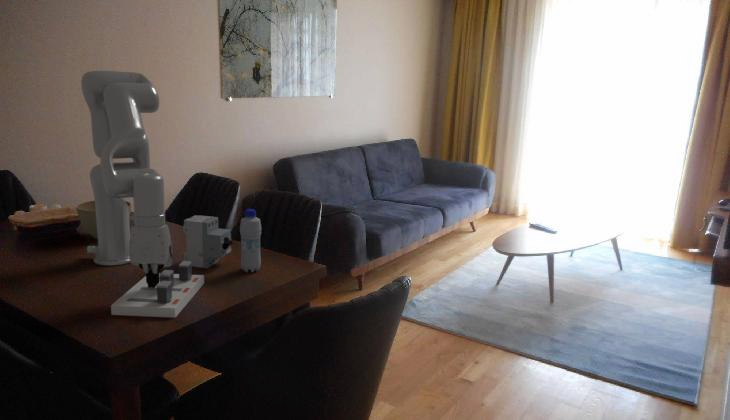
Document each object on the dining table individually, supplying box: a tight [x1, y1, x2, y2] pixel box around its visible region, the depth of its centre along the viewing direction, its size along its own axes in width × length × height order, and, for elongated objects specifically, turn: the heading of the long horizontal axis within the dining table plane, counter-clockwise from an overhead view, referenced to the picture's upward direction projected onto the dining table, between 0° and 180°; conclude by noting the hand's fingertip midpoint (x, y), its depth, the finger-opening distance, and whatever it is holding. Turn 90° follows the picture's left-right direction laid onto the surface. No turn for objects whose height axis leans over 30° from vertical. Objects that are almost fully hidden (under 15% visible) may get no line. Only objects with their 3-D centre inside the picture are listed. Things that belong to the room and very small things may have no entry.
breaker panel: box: [110, 272, 205, 318], centre depth 145 cm, size 16×24×3 cm, turn 0°
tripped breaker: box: [160, 269, 175, 287], centre depth 144 cm, size 2×4×4 cm, turn 0°
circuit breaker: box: [182, 214, 234, 269], centre depth 172 cm, size 8×14×15 cm, turn 79°
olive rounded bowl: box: [75, 200, 132, 240], centre depth 196 cm, size 18×18×12 cm
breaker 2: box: [178, 260, 193, 281], centre depth 152 cm, size 2×4×4 cm, turn 0°
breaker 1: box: [157, 281, 172, 303], centre depth 136 cm, size 2×4×4 cm, turn 0°
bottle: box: [239, 208, 263, 273], centre depth 167 cm, size 7×7×20 cm
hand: (153, 285), depth 144 cm, fingers closed
